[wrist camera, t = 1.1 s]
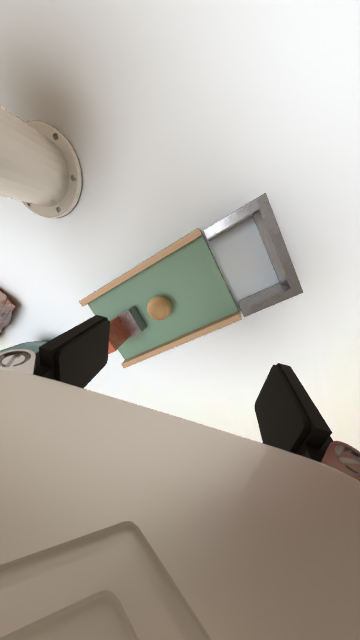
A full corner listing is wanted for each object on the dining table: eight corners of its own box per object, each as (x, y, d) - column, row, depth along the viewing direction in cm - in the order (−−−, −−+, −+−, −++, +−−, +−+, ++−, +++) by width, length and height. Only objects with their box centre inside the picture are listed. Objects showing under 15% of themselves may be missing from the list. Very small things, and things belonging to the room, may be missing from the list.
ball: (150, 312, 34) (141, 320, 31) (153, 291, 33) (145, 296, 29) (171, 318, 34) (165, 326, 30) (175, 296, 32) (170, 302, 29)
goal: (240, 307, 33) (244, 317, 28) (205, 233, 30) (203, 230, 25) (290, 285, 30) (303, 292, 26) (257, 202, 27) (265, 192, 23)
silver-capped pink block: (116, 340, 38) (92, 362, 30) (104, 321, 37) (75, 339, 29) (147, 326, 35) (128, 346, 28) (134, 305, 34) (112, 320, 27)
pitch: (131, 359, 41) (124, 368, 38) (90, 297, 38) (78, 301, 34) (239, 312, 33) (241, 319, 30) (200, 230, 30) (198, 227, 27)
